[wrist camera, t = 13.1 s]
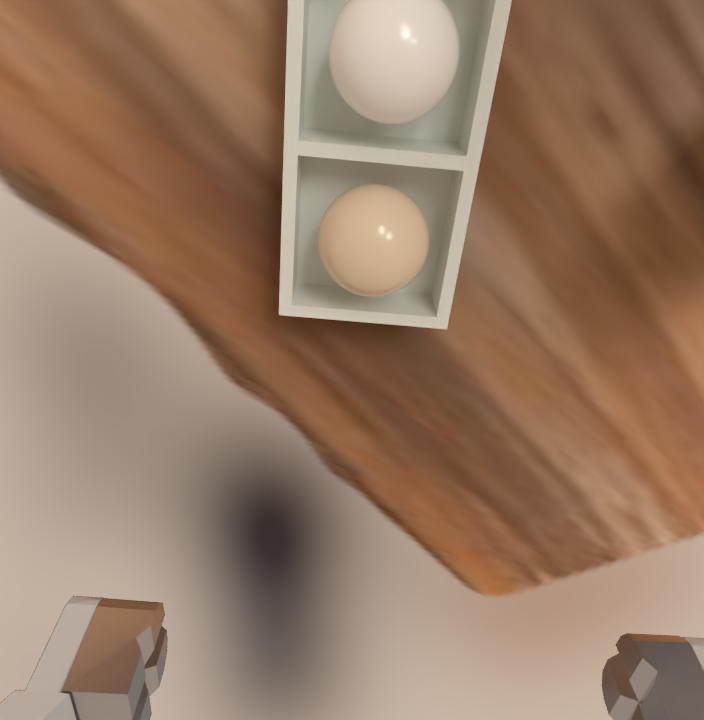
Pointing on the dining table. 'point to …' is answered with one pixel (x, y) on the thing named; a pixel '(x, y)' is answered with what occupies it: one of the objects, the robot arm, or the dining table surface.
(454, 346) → the dining table surface
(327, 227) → the tan egg
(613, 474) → the dining table surface
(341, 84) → the white egg
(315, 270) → the egg carton
